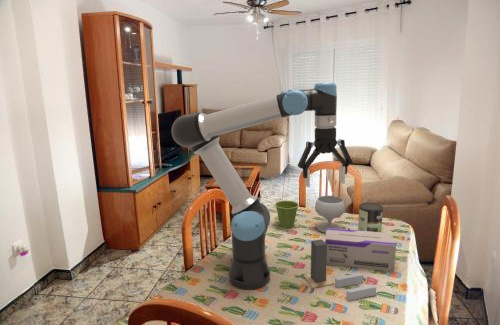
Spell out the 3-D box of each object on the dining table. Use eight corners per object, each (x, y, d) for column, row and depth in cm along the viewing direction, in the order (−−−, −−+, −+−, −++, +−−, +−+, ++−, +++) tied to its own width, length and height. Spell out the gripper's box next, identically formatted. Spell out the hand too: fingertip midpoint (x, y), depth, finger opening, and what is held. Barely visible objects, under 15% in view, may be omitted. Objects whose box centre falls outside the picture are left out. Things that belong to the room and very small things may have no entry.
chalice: (332, 221, 170) (333, 193, 167) (350, 231, 158) (351, 201, 155) (309, 225, 166) (309, 197, 162) (325, 237, 153) (325, 206, 150)
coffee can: (384, 233, 155) (386, 205, 152) (377, 242, 147) (379, 211, 144) (362, 228, 161) (363, 200, 158) (354, 236, 153) (355, 207, 150)
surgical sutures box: (390, 258, 133) (391, 233, 131) (393, 272, 123) (395, 245, 121) (326, 251, 140) (326, 227, 137) (324, 264, 130) (325, 239, 127)
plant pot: (300, 230, 161) (300, 208, 158) (275, 230, 161) (275, 208, 159) (297, 220, 172) (297, 200, 170) (274, 221, 173) (274, 200, 170)
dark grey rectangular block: (315, 282, 116) (316, 245, 113) (310, 276, 120) (311, 240, 117) (326, 280, 117) (327, 244, 114) (320, 275, 121) (321, 239, 118)
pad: (312, 288, 114) (312, 287, 114) (303, 276, 121) (303, 274, 121) (334, 284, 116) (334, 283, 116) (323, 272, 123) (323, 271, 123)
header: (348, 300, 107) (349, 292, 106) (334, 285, 115) (335, 277, 115) (376, 295, 109) (376, 287, 109) (360, 280, 118) (360, 272, 117)
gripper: (295, 130, 113) (296, 190, 117) (363, 126, 117) (361, 184, 122) (288, 128, 120) (289, 185, 124) (352, 124, 124) (351, 179, 129)
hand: (325, 184), depth 123 cm, fingers open, 13 cm apart
